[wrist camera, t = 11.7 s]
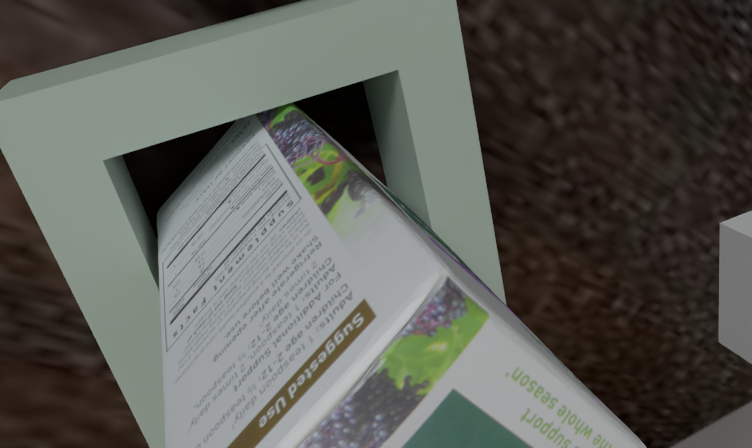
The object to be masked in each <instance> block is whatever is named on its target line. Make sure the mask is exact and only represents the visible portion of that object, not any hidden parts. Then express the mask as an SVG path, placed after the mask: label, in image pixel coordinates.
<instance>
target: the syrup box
mask: <svg viewBox="0 0 752 448" xmlns="http://www.w3.org/2000/svg"><path fill="white" fill-rule="evenodd" d="M157 233H158V264H159V291H160V297H159V302H160V321H161V346H162V366H163V368H162V376H163V401H164V432H165V448H646V446H645V445H644V443H643V442H642V441H641V440H640V439H639V438H638V437H637V436H636V435H635V434H634V433H633V432H632V431H631V430H630V429H629V428H628V427H627V426H626V425H625V424H624V423H623V422H622V421H621V420H620V419H619V418H618V417H616V416H615V415H614V414H613V413H612V412H611V411H610V410H609V409H608V408H607V407H606V406H605V405H604V404H603V403H602V402H601V401H600V400H599V399H598V398H597V397H596V396H595V395H594V394H593V393H592V392H591V391H590V390H589V389H588V388H587V387H586V386H585V385H584V384H583V383H582V382H581V381H580V380H579V379H578V378H577V377H576V376H575V375H574V374H572V372H571V371H570V370H569V369H568V368H567V367H566V366H565V365H564V364H563V363H562V362H561V361H560V360H559V359H558V358H557V357H556V356H555V355H554V354H553V353H552V352H551V351H550V350H549V349H548V348H547V347H546V346H545V345H544V344H543V343H542V342H541V341H540V340H539V339H538V338H537V337H536V336H535V335H534V334H533V333H532V332H531V331H530V330H529V329H528V327H527V326H526V325H525V324H524V323H523V322H522V321H521V320H520V319H519V318H518V317H517V316H516V315H515V314H514V313H513V312H512V311H511V310H510V309H509V308H508V307H507V306H506V305H505V304H504V303H503V302H502V301H501V300H500V299H499V298H498V297H497V295H496V294H495V293H494V292H493V291H492V290H491V289H490V288H489V287H488V286H487V285H486V284H485V283H484V282H483V281H482V280H481V279H480V278H479V277H478V276H477V275H476V274H475V273H474V272H473V271H472V270H471V269H470V268H469V267H468V266H467V265H466V264H465V263H464V262H463V261H462V260H461V259H460V258H459V257H458V256H457V254H456V253H455V252H454V251H453V250H452V249H451V248H450V247H449V246H448V245H447V244H446V243H445V242H444V241H443V240H442V239H441V238H440V237H439V236H438V235H437V234H436V233H435V232H434V231H433V230H432V229H431V228H430V227H429V226H428V225H427V224H425V223H424V222H423V221H422V220H421V219H420V218H419V217H418V216H417V215H416V214H415V213H414V212H413V211H412V210H411V209H410V208H409V207H408V206H407V205H406V204H404V203H403V202H402V201H401V200H400V199H399V198H398V197H397V196H396V195H395V194H393V193H392V192H391V191H390V190H389V189H388V188H387V187H386V186H385V185H383V184H382V183H381V182H380V181H379V180H378V179H377V178H376V177H375V176H373V175H372V174H371V173H370V172H369V171H368V170H367V169H366V168H365V167H364V166H363V165H362V164H361V163H359V162H358V161H357V160H356V159H355V158H354V157H353V156H352V155H351V154H350V153H349V152H348V151H347V150H345V149H344V148H343V147H342V146H341V145H340V144H339V143H338V142H337V141H336V140H334V139H333V138H332V137H331V136H330V135H329V134H328V133H327V132H326V131H325V130H323V129H322V128H321V127H320V126H319V125H318V124H317V123H316V122H314V121H313V120H312V119H311V118H310V117H309V116H308V115H306V114H305V113H304V112H303V111H302V110H301V109H299V108H298V107H297V106H296V105H295V104H294V103H288V104H285V105H282V106H278V107H275V108H272V109H269V110H265V111H262V112H259V113H256V114H252V115H249V116H246V117H243V118H239V119H237V120H236V121H235V122H234V124H233V125H232V126H231V127H230V128H229V129H228V131H227V132H226V133H225V134H224V135H223V137H222V138H221V139H220V140H219V141H218V142H217V144H216V145H215V146H214V147H213V148H212V149H211V151H210V152H209V153H208V154H207V155H206V156H205V157H204V159H203V160H202V161H201V162H200V163H199V164H198V165H197V166H196V168H195V169H194V170H193V171H192V172H191V173H190V174H189V176H188V177H187V178H186V179H185V180H184V181H183V182H182V184H181V185H180V186H179V187H178V188H177V189H176V190H175V192H174V193H173V194H172V195H171V196H170V197H169V198H168V200H167V201H166V202H165V203H164V204H163V205H162V207H161V208H160V209H159V211H158V212H157Z"/></svg>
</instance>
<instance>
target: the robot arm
mask: <svg viewBox="0 0 752 448" xmlns="http://www.w3.org/2000/svg"><path fill="white" fill-rule="evenodd" d="M719 342H720V343H721V344H723V345H724V346H726V347H727V348H729V349H730V350H732V351H733V352H735V353H736V354H738V355H739V356H741V357H742V358H744V359H745V360H747V361H748V362H749V363H751V364H752V211H749V212H747V213H744V214H742V215H739V216H737V217H734V218H732V219H729V220H727V221H724V222H722V223H720V261H719Z"/></svg>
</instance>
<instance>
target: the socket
mask: <svg viewBox="0 0 752 448" xmlns="http://www.w3.org/2000/svg"><path fill="white" fill-rule="evenodd" d="M360 81H363V85H364V89H365V93H366V98H367V102H368V106H369V110H370V115H371V119H372V123H373V127H374V132H375V136H376V140H377V144H378V148H379V153H380V157H381V161H382V165H383V170H384V174H385V178H386V182H387V187H388V189H389V190H390V191H391V192H392V193H393V194H395V195H396V196H397V197H398V198H399V199H400V200H401V201H402V202H403V203H404V204H406V205H407V206H408V207H409V208H410V209H411V210H412V211H413V212H414V213H415V214H416V215H417V216H418V217H419V218H420V219H421V220H422V221H423V222H424V223H425V224H427V225H428V226H429V227H430V228H431V229H432V230H433V231H434V232H435V233H436V234H437V235H438V236H439V237H440V238H441V239H442V240H443V241H444V242H445V243H446V244H447V245H448V246H449V247H450V248H451V249H452V250H453V251H454V252H455V253H456V254H457V256H458V257H459V258H460V259H461V260H462V261H463V262H464V263H465V264H466V265H467V266H468V267H469V268H470V269H471V270H472V271H473V272H474V273H475V274H476V275H477V276H478V277H479V278H480V279H481V280H482V281H483V282H484V283H485V284H486V285H487V286H488V287H489V288H490V289H491V290H492V291H493V292H494V293H495V294H496V295H497V297H498V298H499V299H500V300H501V301H502V302H503V303H504V304H505V305H506V300H505V294H504V288H503V282H502V276H501V270H500V264H499V258H498V252H497V246H496V240H495V234H494V228H493V222H492V215H491V209H490V203H489V197H488V191H487V185H486V179H485V173H484V167H483V161H482V155H481V149H480V143H479V137H478V131H477V125H476V119H475V113H474V107H473V101H472V95H471V89H470V83H469V77H468V71H467V65H466V59H465V52H464V46H463V40H462V34H461V28H460V22H459V16H458V10H457V4H456V0H303V1H299V2H295V3H292V4H288V5H284V6H281V7H277V8H274V9H270V10H266V11H263V12H259V13H255V14H252V15H248V16H244V17H241V18H237V19H233V20H230V21H226V22H223V23H219V24H215V25H212V26H208V27H204V28H201V29H197V30H193V31H190V32H186V33H183V34H179V35H175V36H172V37H168V38H164V39H161V40H157V41H153V42H150V43H146V44H142V45H139V46H135V47H132V48H128V49H124V50H121V51H117V52H113V53H110V54H106V55H102V56H99V57H95V58H92V59H88V60H84V61H81V62H77V63H73V64H70V65H66V66H62V67H59V68H55V69H51V70H48V71H44V72H41V73H37V74H33V75H30V76H26V77H22V78H19V79H15V80H11V81H10V82H9V83H8V84H6V85H5V86H4V87H3V88H2V89H1V90H0V148H1V150H2V152H3V154H4V156H5V158H6V160H7V162H8V164H9V166H10V168H11V170H12V172H13V174H14V176H15V178H16V180H17V182H18V184H19V186H20V188H21V190H22V192H23V194H24V196H25V198H26V200H27V202H28V204H29V206H30V208H31V210H32V212H33V214H34V216H35V218H36V220H37V222H38V224H39V226H40V228H41V230H42V232H43V234H44V236H45V238H46V240H47V242H48V244H49V246H50V248H51V250H52V252H53V254H54V256H55V258H56V260H57V262H58V264H59V266H60V268H61V270H62V272H63V274H64V276H65V278H66V280H67V282H68V284H69V286H70V288H71V290H72V292H73V294H74V296H75V298H76V300H77V302H78V304H79V306H80V308H81V310H82V312H83V314H84V316H85V318H86V320H87V322H88V324H89V326H90V328H91V330H92V332H93V334H94V336H95V338H96V340H97V342H98V344H99V346H100V348H101V350H102V352H103V355H104V357H105V359H106V361H107V363H108V365H109V367H110V369H111V371H112V373H113V375H114V377H115V379H116V381H117V383H118V385H119V387H120V389H121V391H122V393H123V395H124V397H125V399H126V401H127V403H128V405H129V407H130V409H131V411H132V413H133V415H134V417H135V419H136V421H137V423H138V425H139V427H140V429H141V431H142V433H143V435H144V437H145V439H146V441H147V443H148V445H149V447H150V448H165V432H164V401H163V376H162V368H163V366H162V346H161V321H160V302H159V297H160V291H159V264H158V241H157V238H156V236H155V233H154V231H153V229H152V226H151V224H150V221H149V219H148V217H147V214H146V212H145V209H144V207H143V205H142V202H141V200H140V197H139V195H138V193H137V190H136V188H135V185H134V183H133V181H132V178H131V176H130V173H129V171H128V169H127V166H126V164H125V161H124V159H123V157H122V154H125V153H129V152H132V151H135V150H138V149H142V148H145V147H148V146H151V145H155V144H158V143H161V142H164V141H168V140H171V139H174V138H177V137H181V136H184V135H187V134H190V133H194V132H197V131H200V130H204V129H207V128H210V127H213V126H217V125H220V124H223V123H226V122H230V121H233V120H236V119H239V118H243V117H246V116H249V115H252V114H256V113H259V112H262V111H265V110H269V109H272V108H275V107H278V106H282V105H285V104H288V103H292V102H295V101H298V100H301V99H305V98H308V97H311V96H314V95H318V94H321V93H324V92H327V91H331V90H334V89H337V88H340V87H344V86H347V85H350V84H353V83H357V82H360Z"/></svg>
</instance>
